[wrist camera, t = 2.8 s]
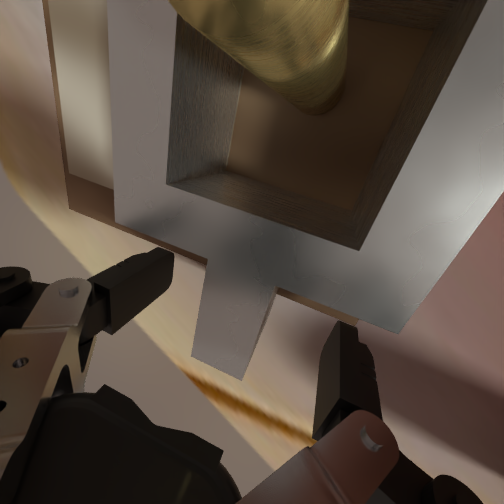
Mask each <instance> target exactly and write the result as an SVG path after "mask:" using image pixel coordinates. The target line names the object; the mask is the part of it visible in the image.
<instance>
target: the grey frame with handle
mask: <svg viewBox="0 0 504 504" xmlns="http://www.w3.org/2000/svg"><path fill="white" fill-rule="evenodd" d="M349 16H351V17H357V18H362V19H368V20H374V21H380V22H385V23H391V24H397V25H403V26H408V27H414V28H420V29H426V30H431V31H433V33H432V35H431V37H430V39H429V42H428V44H427V46H426V48H425V50H424V53H423V55H422V57H421V59H420V61H419V64H418V66H417V68H416V70H415V72H414V75H413V77H412V79H411V81H410V83H409V86H408V88H407V90H406V92H405V94H404V97H403V99H402V101H401V103H400V105H399V108H398V110H397V112H396V114H395V117H394V119H393V121H392V123H391V125H390V128H389V130H388V132H387V134H386V136H385V139H384V141H383V143H382V145H381V147H380V150H379V152H378V154H377V156H376V158H375V161H374V163H373V165H372V167H371V169H370V172H369V174H368V176H367V178H366V180H365V183H364V185H363V187H362V189H361V191H360V194H359V196H358V198H357V200H356V202H355V205H354V207H353V209H352V211H351V210H348V209H345V208H342V207H339V206H335V205H332V204H329V203H326V202H323V201H320V200H316V199H313V198H310V197H307V196H304V195H301V194H298V193H294V192H291V191H288V190H285V189H282V188H279V187H276V186H272V185H269V184H266V183H263V182H260V181H257V180H254V179H250V178H247V177H244V176H241V175H238V174H235V173H231V172H228V171H225V169H226V163H227V158H228V152H229V146H230V141H231V135H232V130H233V124H234V118H235V113H236V107H237V101H238V96H239V90H240V84H241V79H242V73H243V66H242V65H241V64H240V63H238V62H237V61H236V60H234V59H233V58H232V57H231V56H229V55H228V54H227V53H226V52H224V51H223V50H222V49H220V48H219V47H218V46H217V45H215V44H214V43H213V42H212V41H210V40H209V39H208V38H206V37H205V36H204V35H203V34H201V33H200V32H199V31H198V30H196V29H195V28H194V27H192V26H191V25H190V24H189V23H187V22H186V21H185V20H184V19H183V18H182V17H181V16H180V15H179V14H178V13H177V12H176V11H175V9H174V8H173V7H172V5H171V4H170V3H169V1H168V0H107V17H108V44H109V71H110V98H111V125H112V152H113V180H114V207H115V222H116V223H118V224H121V225H123V226H126V227H128V228H131V229H133V230H136V231H138V232H141V233H143V234H146V235H149V236H151V237H154V238H156V239H159V240H161V241H164V242H166V243H169V244H171V245H174V246H176V247H179V248H181V249H184V250H186V251H189V252H191V253H194V254H197V255H199V256H202V257H204V258H207V259H208V261H207V267H206V273H205V279H204V284H203V290H202V296H201V302H200V307H199V313H198V319H197V325H196V331H195V336H194V342H193V348H192V354H191V356H192V357H194V358H196V359H198V360H200V361H202V362H204V363H206V364H208V365H210V366H212V367H214V368H216V369H218V370H220V371H223V372H225V373H227V374H229V375H231V376H233V377H235V378H237V379H239V380H241V381H242V379H243V377H244V374H245V372H246V369H247V367H248V364H249V362H250V360H251V357H252V355H253V352H254V350H255V348H256V345H257V343H258V340H259V338H260V335H261V333H262V331H263V328H264V326H265V323H266V321H267V318H268V316H269V313H270V311H271V308H272V305H273V302H274V300H275V297H276V294H277V291H278V288H279V287H280V288H282V289H285V290H287V291H290V292H292V293H295V294H298V295H300V296H303V297H305V298H308V299H310V300H313V301H315V302H318V303H320V304H323V305H325V306H328V307H330V308H333V309H335V310H338V311H340V312H343V313H346V314H348V315H351V316H353V317H356V318H358V319H361V320H363V321H366V322H368V323H371V324H373V325H376V326H378V327H381V328H383V329H386V330H388V331H391V332H394V333H396V334H399V332H400V331H401V330H402V328H403V327H404V325H405V324H406V323H407V321H408V320H409V319H410V317H411V316H412V315H413V313H414V312H415V311H416V309H417V308H418V307H419V305H420V304H421V302H422V301H423V300H424V298H425V297H426V296H427V294H428V293H429V292H430V290H431V289H432V288H433V286H434V285H435V283H436V282H437V281H438V279H439V278H440V277H441V275H442V274H443V273H444V271H445V270H446V269H447V267H448V266H449V264H450V263H451V262H452V260H453V259H454V258H455V256H456V255H457V254H458V252H459V251H460V250H461V248H462V247H463V246H464V244H465V243H466V241H467V240H468V239H469V237H470V236H471V235H472V233H473V232H474V231H475V229H476V228H477V227H478V225H479V224H480V222H481V221H482V220H483V218H484V217H485V216H486V214H487V213H488V212H489V210H490V209H491V208H492V206H493V205H494V204H495V202H496V201H497V199H498V198H499V197H500V195H501V194H502V193H503V191H504V0H349Z"/></svg>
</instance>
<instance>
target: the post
mask: <svg viewBox="0 0 504 504" xmlns="http://www.w3.org/2000/svg"><path fill="white" fill-rule="evenodd" d="M168 1H169V3H170V4H171V5H172V7H173V8H174V9H175V11H176V12H177V13H178V14H179V15H180V16H181V17H182V18H183V19H184V20H185V21H186V22H187V23H189V24H190V25H191V26H192V27H194V28H195V29H196V30H198V31H199V32H200V33H201V34H203V35H204V36H205V37H206V38H208V39H209V40H210V41H212V42H213V43H214V44H215V45H217V46H218V47H219V48H220V49H222V50H223V51H224V52H226V53H227V54H228V55H229V56H231V57H232V58H233V59H234V60H236V61H237V62H238V63H240V64H241V65H242V66H243V67H245V68H246V69H247V70H248V71H250V72H251V73H252V74H254V75H255V76H256V77H257V78H259V79H260V80H261V81H262V82H264V83H265V84H266V85H268V86H269V87H270V88H271V89H273V90H274V91H275V92H276V93H278V94H279V95H280V96H282V97H283V98H284V99H285V100H287V101H288V102H289V103H290V104H292V105H293V106H294V107H296V108H297V109H298V110H299V111H301V112H302V113H304V114H306V115H310V116H317V115H321V114H324V113H326V112H328V111H329V110H331V109H332V108H333V107H334V106H335V105H336V104H337V103H338V101H339V100H340V98H341V96H342V94H343V92H344V88H345V84H346V65H347V43H348V21H349V0H168Z"/></svg>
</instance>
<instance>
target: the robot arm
mask: <svg viewBox="0 0 504 504" xmlns="http://www.w3.org/2000/svg"><path fill="white" fill-rule="evenodd" d="M173 267H174V253H172V252H170V251H167V250H165V249H162V248H160V247H157V248H155V249H153V250H151V251H150V252H148V253H141V254H137V255H133V256H131V257H129V258H127V259H125V260H124V261H121V262H120V263H118V264H116V265H114V266H112V267H110V268H108V269H106V270H104V271H102V272H100V273H98V274H97V275H95V276H93V277H91V278H89V279H87V280H85V279H82V278H66V279H62V280H58V281H56V282H54V283H52V284H46V283H40V282H33V281H32V279H31V275H30V272H29V271H28V270H27V269H25V268H21V267H2V268H0V504H483V503H482V501H481V500H480V499H479V498H478V497H477V496H476V494H475V493H474V492H473V491H472V490H470V489H469V488H468V487H467V486H466V485H465V484H463V483H462V482H461V481H459V480H457V479H456V478H454V477H451V476H448V475H439V476H437V477H436V478H434V479H433V478H431V477H430V476H429V475H428V474H426V473H425V472H424V471H423V470H422V469H420V468H419V467H418V466H417V465H415V464H414V463H413V462H412V461H410V460H409V459H408V458H407V457H406V456H405V455H403V453H402V452H401V451H400V450H399V448H398V444H397V441H396V439H395V437H394V435H393V433H392V432H391V430H390V429H389V427H388V426H387V425H386V424H385V423H384V422H383V419H382V413H381V406H380V399H379V393H378V386H377V381H376V373H375V371H374V369H375V366H374V360H373V356H372V354H371V352H370V351H369V349H368V347H367V345H365V344H363V343H360V342H359V340H358V330H357V328H356V327H354V326H351V325H349V324H347V323H344V322H342V321H337V323H336V324H335V326H334V328H333V330H332V332H331V334H330V335H329V337H328V339H327V341H326V343H325V345H324V347H323V350H322V353H321V357H320V364H319V374H318V384H317V394H316V404H315V414H314V424H313V434H312V438H313V439H315V440H317V441H318V442H317V443H315V444H314V445H313V446H311V447H310V448H309V446H307V447H305V448H304V449H302V450H301V451H300V452H298V453H297V454H296V455H295V456H293V457H292V458H291V459H290V460H288V461H287V462H286V463H285V464H283V465H282V466H281V467H280V468H279V469H277V470H276V471H275V472H274V473H272V474H271V475H270V476H269V477H268V478H266V479H265V480H264V481H263V482H262V483H260V484H259V485H258V486H256V487H255V488H254V489H253V490H252V491H250V492H249V493H248V494H247V495H245V496H244V497H243V498H242V497H241V494H240V492H239V490H238V487H237V485H236V484H235V482H234V480H233V478H232V477H231V475H230V474H229V472H228V471H227V469H226V468H225V467H224V466H223V465H222V464H221V463H220V460H221V457H222V454H223V450H221V449H220V448H218V447H216V446H214V445H212V444H211V443H209V442H207V441H205V440H204V439H202V438H200V437H198V436H196V435H195V434H193V433H189V432H184V431H180V430H175V429H170V428H166V427H160V426H157V425H155V424H153V423H152V422H151V421H150V420H149V418H148V417H147V416H146V415H145V414H144V413H143V412H142V410H141V409H140V408H139V407H138V406H137V405H136V404H135V403H134V402H133V400H132V399H130V398H128V397H127V396H125V395H123V394H121V393H120V392H118V391H116V390H114V389H112V388H111V387H109V386H107V385H105V384H104V385H103V386H102V387H101V388H100V389H99V390H98V391H97V392H96V393H87V392H84V387H85V380H86V376H87V372H88V368H89V365H90V361H91V357H92V354H93V350H94V346H95V343H96V338H97V337H96V334H98V333H99V332H100V331H102V330H103V331H105V332H107V333H109V334H111V335H113V334H114V333H115V332H116V331H118V330H119V329H120V328H121V327H122V326H124V325H125V324H126V323H127V322H129V321H130V320H131V319H132V318H134V317H135V316H136V315H137V314H138V313H140V312H141V311H142V310H143V309H145V308H146V307H147V306H148V305H149V304H151V303H152V302H153V301H154V300H156V299H157V298H158V297H159V296H160V295H162V294H163V293H164V292H165V291H166V290H167V289H168V288H169V286H170V285H171V282H172V278H173Z"/></svg>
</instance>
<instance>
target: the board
mask: <svg viewBox="0 0 504 504" xmlns="http://www.w3.org/2000/svg"><path fill="white" fill-rule="evenodd" d="M42 3H43V10H44V18H45V26H46V34H47V41H48V49H49V57H50V64H51V72H52V80H53V87H54V95H55V103H56V110H57V118H58V126H59V133H60V141H61V149H62V157H63V164H64V172H65V180H66V187H67V195H68V203H69V209H71V210H74V211H76V212H79V213H81V214H83V215H86V216H88V217H91V218H93V219H96V220H98V221H100V222H103V223H105V224H108V225H110V226H113V227H115V228H118V229H120V230H122V231H125V232H127V233H130V234H132V235H135V236H137V237H139V238H142V239H144V240H147V241H149V242H152V243H154V244H157V245H159V246H161V247H164V248H166V249H169V250H171V251H174V252H176V253H179V254H181V255H183V256H186V257H188V258H191V259H193V260H196V261H198V262H200V263H203V264H205V265H207V261H208V259H207V258H204V257H202V256H199V255H197V254H194V253H191V252H189V251H186V250H184V249H181V248H179V247H176V246H174V245H171V244H169V243H166V242H164V241H161V240H159V239H156V238H154V237H151V236H149V235H146V234H143V233H141V232H138V231H136V230H133V229H131V228H128V227H126V226H123V225H121V224H118V223H116V222H115V207H114V180H113V152H112V125H111V98H110V71H109V44H108V17H107V0H42ZM432 33H433V31H431V30H426V29H420V28H414V27H408V26H403V25H397V24H391V23H385V22H380V21H374V20H368V19H362V18H357V17H351V16H349V21H348V43H347V65H346V84H345V88H344V92H343V94H342V96H341V98H340V100H339V101H338V103H337V104H336V105H335V106H334V107H333V108H332V109H331V110H329V111H328V112H326V113H324V114H321V115H317V116H310V115H306V114H304V113H302V112H301V111H299V110H298V109H297V108H296V107H294V106H293V105H292V104H290V103H289V102H288V101H287V100H285V99H284V98H283V97H282V96H280V95H279V94H278V93H276V92H275V91H274V90H273V89H271V88H270V87H269V86H268V85H266V84H265V83H264V82H262V81H261V80H260V79H259V78H257V77H256V76H255V75H254V74H252V73H251V72H250V71H248V70H247V69H246V68H245V67H243V73H242V79H241V84H240V90H239V96H238V101H237V107H236V113H235V118H234V124H233V130H232V135H231V141H230V146H229V152H228V158H227V163H226V169H225V171H228V172H231V173H235V174H238V175H241V176H244V177H247V178H250V179H254V180H257V181H260V182H263V183H266V184H269V185H272V186H276V187H279V188H282V189H285V190H288V191H291V192H294V193H298V194H301V195H304V196H307V197H310V198H313V199H316V200H320V201H323V202H326V203H329V204H332V205H335V206H339V207H342V208H345V209H348V210H351V211H352V209H353V207H354V205H355V202H356V200H357V198H358V196H359V194H360V191H361V189H362V187H363V185H364V183H365V180H366V178H367V176H368V174H369V172H370V169H371V167H372V165H373V163H374V161H375V158H376V156H377V154H378V152H379V150H380V147H381V145H382V143H383V141H384V139H385V136H386V134H387V132H388V130H389V128H390V125H391V123H392V121H393V119H394V117H395V114H396V112H397V110H398V108H399V105H400V103H401V101H402V99H403V97H404V94H405V92H406V90H407V88H408V86H409V83H410V81H411V79H412V77H413V75H414V72H415V70H416V68H417V66H418V64H419V61H420V59H421V57H422V55H423V53H424V50H425V48H426V46H427V44H428V42H429V39H430V37H431V35H432ZM277 294H278V295H281V296H283V297H286V298H288V299H291V300H293V301H296V302H298V303H300V304H303V305H305V306H308V307H310V308H313V309H315V310H317V311H320V312H322V313H325V314H327V315H330V316H332V317H335V318H337V319H339V320H342V321H344V322H347V323H349V324H352V325H354V326H355V325H356V323H357V321H358V320H359V319H358V318H356V317H353V316H351V315H348V314H346V313H343V312H340V311H338V310H335V309H333V308H330V307H328V306H325V305H323V304H320V303H318V302H315V301H313V300H310V299H308V298H305V297H303V296H300V295H298V294H295V293H292V292H290V291H287V290H285V289H282V288H280V287H279V288H278V291H277Z"/></svg>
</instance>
